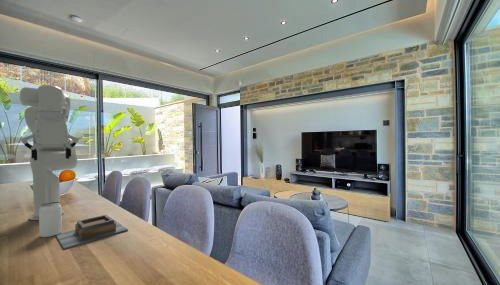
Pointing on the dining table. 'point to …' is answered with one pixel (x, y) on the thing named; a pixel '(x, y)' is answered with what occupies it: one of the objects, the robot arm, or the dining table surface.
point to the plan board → (77, 241)
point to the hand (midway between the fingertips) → (52, 159)
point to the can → (50, 219)
